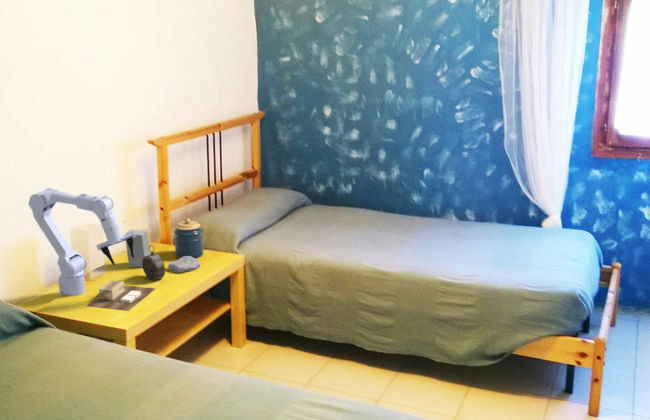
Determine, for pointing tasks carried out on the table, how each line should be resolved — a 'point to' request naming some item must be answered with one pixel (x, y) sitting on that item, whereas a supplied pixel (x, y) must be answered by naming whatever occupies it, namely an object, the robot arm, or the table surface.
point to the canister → (188, 239)
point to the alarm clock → (153, 266)
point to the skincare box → (138, 248)
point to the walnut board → (117, 302)
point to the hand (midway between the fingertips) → (123, 261)
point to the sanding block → (111, 290)
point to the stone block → (184, 264)
